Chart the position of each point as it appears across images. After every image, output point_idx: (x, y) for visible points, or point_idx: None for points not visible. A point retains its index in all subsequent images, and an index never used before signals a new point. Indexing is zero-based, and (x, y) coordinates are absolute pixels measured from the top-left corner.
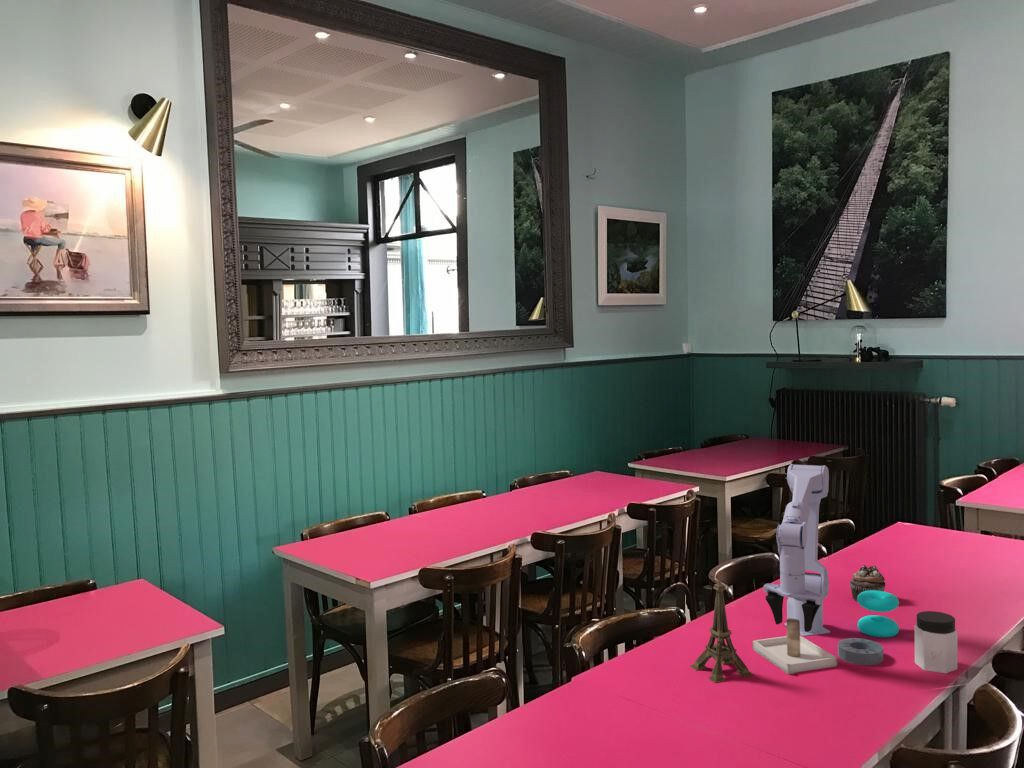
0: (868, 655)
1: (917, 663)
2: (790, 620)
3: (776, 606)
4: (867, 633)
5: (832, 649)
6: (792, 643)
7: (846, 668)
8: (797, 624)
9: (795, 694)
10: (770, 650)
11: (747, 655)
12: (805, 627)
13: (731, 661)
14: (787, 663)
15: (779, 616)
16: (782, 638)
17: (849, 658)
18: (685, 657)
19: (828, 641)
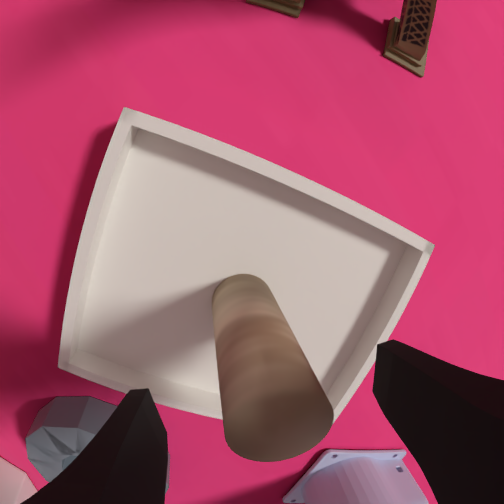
0: (27, 434)
1: (12, 468)
2: (302, 420)
3: (472, 431)
4: None
5: (199, 447)
6: (235, 307)
7: (50, 357)
8: (223, 414)
9: (26, 9)
10: (347, 260)
11: (395, 164)
12: (130, 406)
13: (388, 45)
14: (137, 119)
15: (403, 399)
16: (356, 370)
17: (72, 408)
18: (483, 21)
19: (251, 473)
